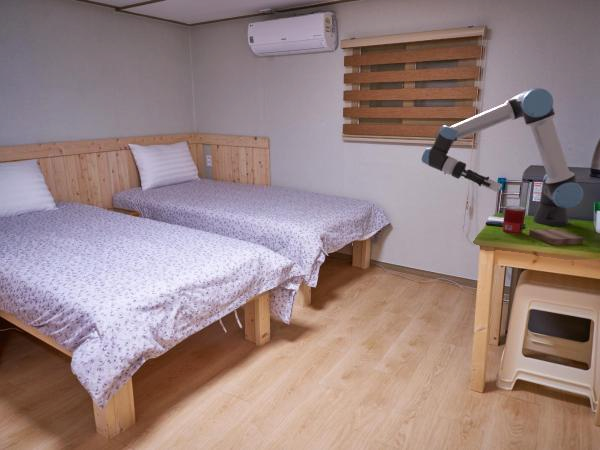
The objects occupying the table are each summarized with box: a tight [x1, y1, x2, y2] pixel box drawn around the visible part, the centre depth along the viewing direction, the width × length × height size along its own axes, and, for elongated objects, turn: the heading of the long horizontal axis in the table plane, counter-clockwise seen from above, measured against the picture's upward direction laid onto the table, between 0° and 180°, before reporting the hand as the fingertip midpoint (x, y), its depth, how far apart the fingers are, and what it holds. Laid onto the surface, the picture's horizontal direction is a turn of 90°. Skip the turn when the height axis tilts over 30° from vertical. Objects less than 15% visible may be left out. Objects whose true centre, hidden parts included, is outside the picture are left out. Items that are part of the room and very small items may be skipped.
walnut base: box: [528, 228, 584, 246], centre depth 190 cm, size 14×14×2 cm
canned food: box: [502, 205, 526, 235], centre depth 201 cm, size 8×8×11 cm
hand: (499, 188), depth 201 cm, fingers open, 13 cm apart
